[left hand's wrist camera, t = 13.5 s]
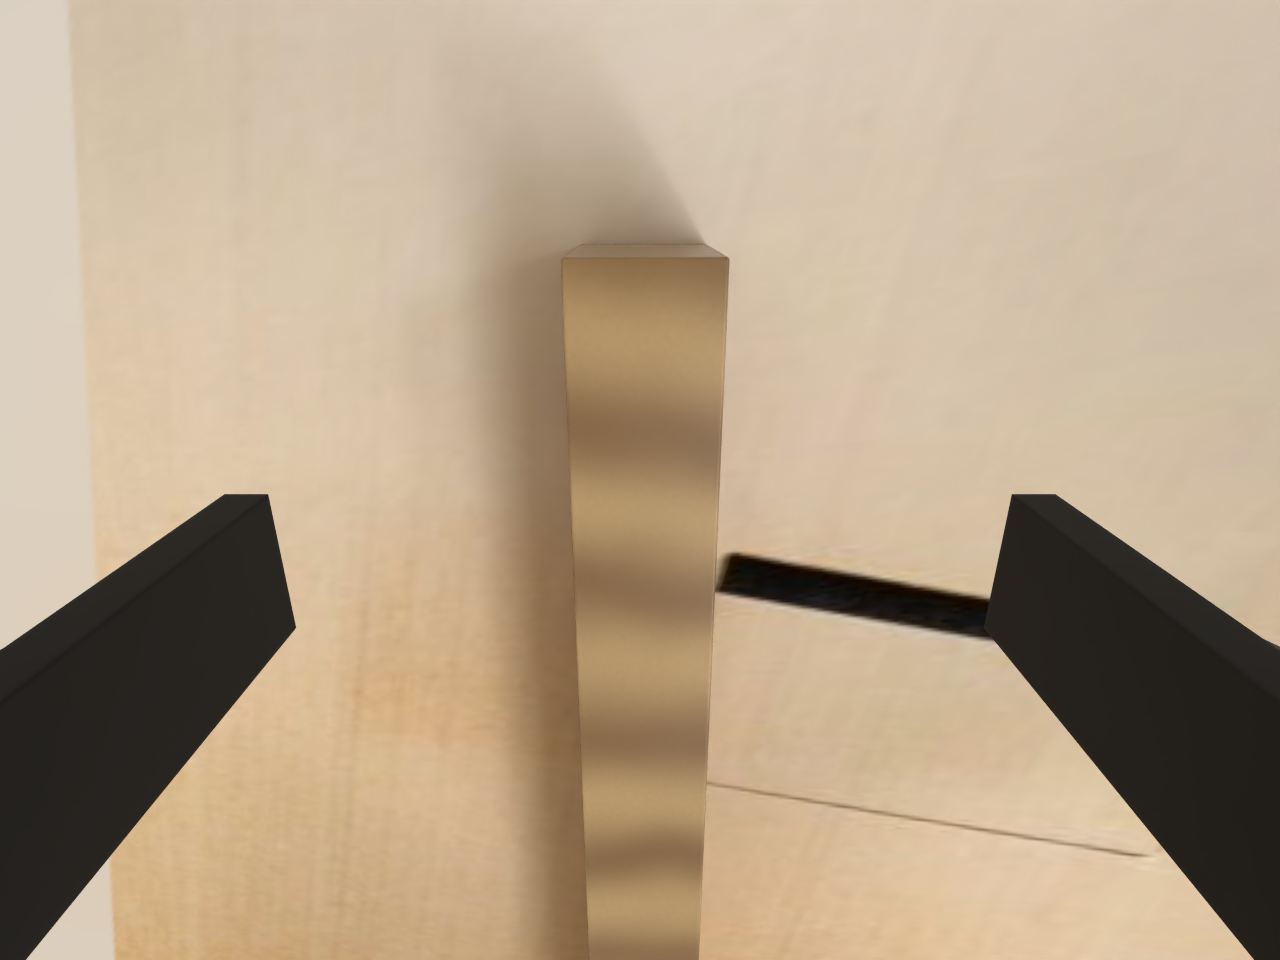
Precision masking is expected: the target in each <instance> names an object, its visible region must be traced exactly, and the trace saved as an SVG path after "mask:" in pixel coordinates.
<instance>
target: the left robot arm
mask: <svg viewBox="0 0 1280 960" xmlns="http://www.w3.org/2000/svg"><path fill="white" fill-rule="evenodd" d="M295 628H296V625H295V621H294V616H293V611H292V606H291V602H290V597H289V592H288V587H287V582H286V578H285V573H284V568H283V563H282V559H281V554H280V549H279V544H278V540H277V535H276V530H275V525H274V520H273V516H272V511H271V506H270V501H269V497H268V494H224V495H223V496H222V497H220V498H219V499H217V500H216V501H214V502H213V503H211V504H210V505H209V506H207V507H206V508H204V509H203V510H201V511H200V512H199V513H197V514H196V515H194V516H193V517H191V518H190V519H188V520H187V521H186V522H184V523H183V524H181V525H180V526H178V527H177V528H176V529H174V530H173V531H171V532H170V533H168V534H167V535H165V536H164V537H163V538H161V539H160V540H158V541H157V542H155V543H154V544H153V545H151V546H150V547H148V548H147V549H145V550H144V551H142V552H141V553H140V554H138V555H137V556H135V557H134V558H132V559H131V560H130V561H128V562H127V563H125V564H124V565H122V566H121V567H119V568H118V569H117V570H115V571H114V572H112V573H111V574H109V575H108V576H107V577H105V578H104V579H102V580H101V581H99V582H98V583H96V584H95V585H94V586H92V587H91V588H89V589H88V590H86V591H85V592H84V593H82V594H81V595H79V596H78V597H76V598H75V599H74V600H72V601H71V602H69V603H68V604H66V605H65V606H64V607H62V608H61V609H59V610H58V611H56V612H55V613H53V614H52V615H51V616H49V617H48V618H46V619H45V620H43V621H42V622H40V623H39V624H38V625H36V626H35V627H33V628H32V629H30V630H29V631H28V632H26V633H25V634H23V635H22V636H20V637H19V638H17V639H16V640H15V641H13V642H12V643H10V644H9V645H7V646H6V647H5V648H3V649H1V650H0V960H26V959H27V958H28V956H29V955H30V954H31V953H32V951H33V950H34V949H35V948H36V947H37V945H38V944H39V943H40V942H41V940H42V939H43V938H44V937H45V935H46V934H47V933H48V932H49V931H50V929H51V928H52V927H53V926H54V924H55V923H56V922H57V921H58V920H59V918H60V917H61V916H62V915H63V913H64V912H65V911H66V910H67V909H68V907H69V906H70V905H71V904H72V902H73V901H74V900H75V899H76V897H77V896H78V895H79V894H80V893H81V891H82V890H83V889H84V888H85V886H86V885H87V884H88V883H89V881H90V880H91V879H92V878H93V877H94V875H95V874H96V873H97V872H98V870H99V869H100V868H101V867H102V866H103V864H104V863H105V862H106V861H107V859H108V858H109V857H110V856H111V854H112V853H113V852H114V851H115V850H116V848H117V847H118V846H119V845H120V843H121V842H122V841H123V840H124V838H125V837H126V836H127V835H128V834H129V832H130V831H131V830H132V829H133V827H134V826H135V825H136V824H137V823H138V821H139V820H140V819H141V818H142V816H143V815H144V814H145V813H146V811H147V810H148V809H149V808H150V807H151V805H152V804H153V803H154V802H155V800H156V799H157V798H158V797H159V795H160V794H161V793H162V792H163V791H164V789H165V788H166V787H167V786H168V784H169V783H170V782H171V781H172V780H173V778H174V777H175V776H176V775H177V773H178V772H179V771H180V770H181V768H182V767H183V766H184V765H185V764H186V762H187V761H188V760H189V759H190V757H191V756H192V755H193V754H194V753H195V751H196V750H197V749H198V748H199V746H200V745H201V744H202V743H203V741H204V740H205V739H206V738H207V737H208V735H209V734H210V733H211V732H212V730H213V729H214V728H215V727H216V725H217V724H218V723H219V722H220V721H221V719H222V718H223V717H224V716H225V714H226V713H227V712H228V711H229V710H230V708H231V707H232V706H233V705H234V703H235V702H236V701H237V700H238V698H239V697H240V696H241V695H242V694H243V692H244V691H245V690H246V689H247V687H248V686H249V685H250V684H251V682H252V681H253V680H254V679H255V678H256V676H257V675H258V674H259V673H260V671H261V670H262V669H263V668H264V667H265V665H266V664H267V663H268V662H269V660H270V659H271V658H272V657H273V655H274V654H275V653H276V652H277V651H278V649H279V648H280V647H281V646H282V644H283V643H284V642H285V641H286V639H287V638H288V637H289V636H290V635H291V633H292V632H293V631H294V630H295ZM984 628H985V630H986V631H987V632H988V633H989V635H990V636H991V637H992V638H993V639H994V641H995V642H996V643H997V644H998V646H999V647H1000V648H1001V649H1002V651H1003V652H1004V653H1005V654H1006V655H1007V657H1008V658H1009V659H1010V660H1011V662H1012V663H1013V664H1014V665H1015V667H1016V668H1017V669H1018V670H1019V671H1020V673H1021V674H1022V675H1023V676H1024V678H1025V679H1026V680H1027V681H1028V682H1029V684H1030V685H1031V686H1032V687H1033V689H1034V690H1035V691H1036V692H1037V694H1038V695H1039V696H1040V697H1041V698H1042V700H1043V701H1044V702H1045V703H1046V705H1047V706H1048V707H1049V708H1050V710H1051V711H1052V712H1053V713H1054V714H1055V716H1056V717H1057V718H1058V719H1059V721H1060V722H1061V723H1062V724H1063V725H1064V727H1065V728H1066V729H1067V730H1068V732H1069V733H1070V734H1071V735H1072V737H1073V738H1074V739H1075V740H1076V741H1077V743H1078V744H1079V745H1080V746H1081V748H1082V749H1083V750H1084V751H1085V753H1086V754H1087V755H1088V756H1089V757H1090V759H1091V760H1092V761H1093V762H1094V764H1095V765H1096V766H1097V767H1098V768H1099V770H1100V771H1101V772H1102V773H1103V775H1104V776H1105V777H1106V778H1107V780H1108V781H1109V782H1110V783H1111V784H1112V786H1113V787H1114V788H1115V789H1116V791H1117V792H1118V793H1119V794H1120V795H1121V797H1122V798H1123V799H1124V800H1125V802H1126V803H1127V804H1128V805H1129V807H1130V808H1131V809H1132V810H1133V811H1134V813H1135V814H1136V815H1137V816H1138V818H1139V819H1140V820H1141V821H1142V823H1143V824H1144V825H1145V826H1146V827H1147V829H1148V830H1149V831H1150V832H1151V834H1152V835H1153V836H1154V837H1155V838H1156V840H1157V841H1158V842H1159V843H1160V845H1161V846H1162V847H1163V848H1164V850H1165V851H1166V852H1167V853H1168V854H1169V856H1170V857H1171V858H1172V859H1173V861H1174V862H1175V863H1176V864H1177V866H1178V867H1179V868H1180V869H1181V870H1182V872H1183V873H1184V874H1185V875H1186V877H1187V878H1188V879H1189V880H1190V881H1191V883H1192V884H1193V885H1194V886H1195V888H1196V889H1197V890H1198V891H1199V893H1200V894H1201V895H1202V896H1203V897H1204V899H1205V900H1206V901H1207V902H1208V904H1209V905H1210V906H1211V907H1212V909H1213V910H1214V911H1215V912H1216V913H1217V915H1218V916H1219V917H1220V918H1221V920H1222V921H1223V922H1224V923H1225V924H1226V926H1227V927H1228V928H1229V929H1230V931H1231V932H1232V933H1233V934H1234V936H1235V937H1236V938H1237V939H1238V940H1239V942H1240V943H1241V944H1242V945H1243V947H1244V948H1245V949H1246V950H1247V951H1248V953H1249V954H1250V955H1251V956H1252V958H1253V959H1254V960H1280V647H1279V646H1277V645H1275V644H1273V643H1271V642H1269V641H1266V640H1264V639H1263V638H1261V637H1260V636H1258V635H1257V634H1255V633H1254V632H1252V631H1251V630H1250V629H1248V628H1247V627H1245V626H1244V625H1242V624H1241V623H1240V622H1238V621H1237V620H1235V619H1234V618H1232V617H1231V616H1229V615H1228V614H1227V613H1225V612H1224V611H1222V610H1221V609H1219V608H1218V607H1217V606H1215V605H1214V604H1212V603H1211V602H1209V601H1208V600H1206V599H1205V598H1204V597H1202V596H1201V595H1199V594H1198V593H1196V592H1195V591H1194V590H1192V589H1191V588H1189V587H1188V586H1186V585H1185V584H1184V583H1182V582H1181V581H1179V580H1178V579H1176V578H1175V577H1173V576H1172V575H1171V574H1169V573H1168V572H1166V571H1165V570H1163V569H1162V568H1161V567H1159V566H1158V565H1156V564H1155V563H1153V562H1152V561H1150V560H1149V559H1148V558H1146V557H1145V556H1143V555H1142V554H1140V553H1139V552H1138V551H1136V550H1135V549H1133V548H1132V547H1130V546H1129V545H1127V544H1126V543H1125V542H1123V541H1122V540H1120V539H1119V538H1117V537H1116V536H1115V535H1113V534H1112V533H1110V532H1109V531H1107V530H1106V529H1104V528H1103V527H1102V526H1100V525H1099V524H1097V523H1096V522H1094V521H1093V520H1092V519H1090V518H1089V517H1087V516H1086V515H1084V514H1083V513H1081V512H1080V511H1079V510H1077V509H1076V508H1074V507H1073V506H1071V505H1070V504H1069V503H1067V502H1066V501H1064V500H1063V499H1061V498H1060V497H1058V496H1057V495H1056V494H1012V497H1011V501H1010V506H1009V511H1008V516H1007V520H1006V525H1005V530H1004V535H1003V540H1002V544H1001V549H1000V554H999V559H998V563H997V568H996V573H995V578H994V582H993V587H992V592H991V597H990V602H989V606H988V611H987V616H986V621H985V625H984Z"/></svg>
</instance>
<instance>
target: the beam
mask: <svg viewBox="0 0 1280 960" xmlns="http://www.w3.org/2000/svg"><path fill="white" fill-rule="evenodd" d="M561 271H562V296H563V321H564V346H565V371H566V396H567V421H568V446H569V472H570V497H571V522H572V547H573V572H574V597H575V622H576V647H577V672H578V697H579V722H580V748H581V773H582V798H583V823H584V848H585V873H586V898H587V923H588V948H589V960H699V942H700V919H701V896H702V873H703V851H704V828H705V805H706V782H707V760H708V737H709V714H710V691H711V669H712V646H713V623H714V600H715V577H716V555H717V532H718V509H719V486H720V464H721V441H722V418H723V395H724V372H725V350H726V327H727V304H728V281H729V258H728V257H727V256H725V255H723V254H721V253H720V252H718V251H716V250H715V249H713V248H711V247H710V246H708V245H706V244H582V245H580V246H579V247H577V248H576V249H574V250H573V251H571V252H570V253H568V254H567V255H565V256H564V257H562V259H561Z"/></svg>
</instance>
